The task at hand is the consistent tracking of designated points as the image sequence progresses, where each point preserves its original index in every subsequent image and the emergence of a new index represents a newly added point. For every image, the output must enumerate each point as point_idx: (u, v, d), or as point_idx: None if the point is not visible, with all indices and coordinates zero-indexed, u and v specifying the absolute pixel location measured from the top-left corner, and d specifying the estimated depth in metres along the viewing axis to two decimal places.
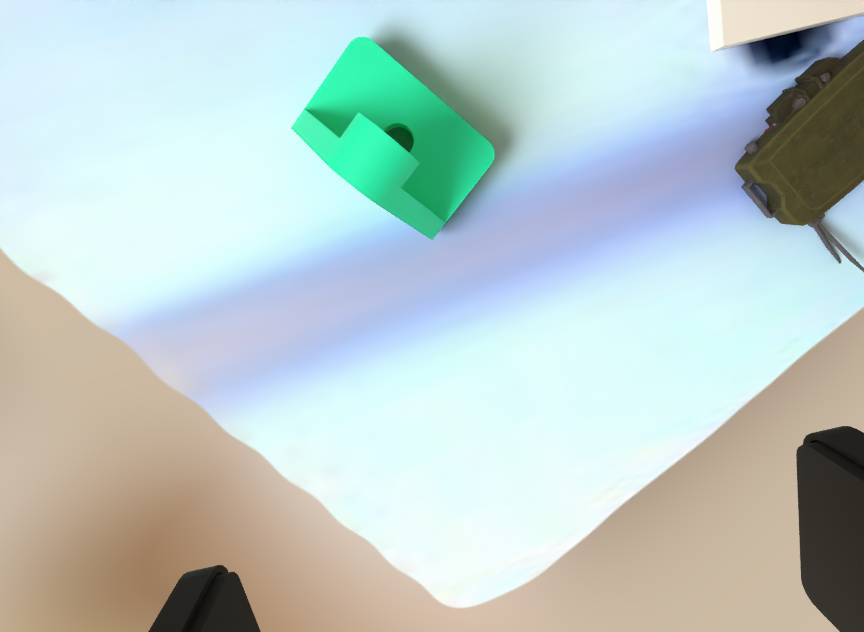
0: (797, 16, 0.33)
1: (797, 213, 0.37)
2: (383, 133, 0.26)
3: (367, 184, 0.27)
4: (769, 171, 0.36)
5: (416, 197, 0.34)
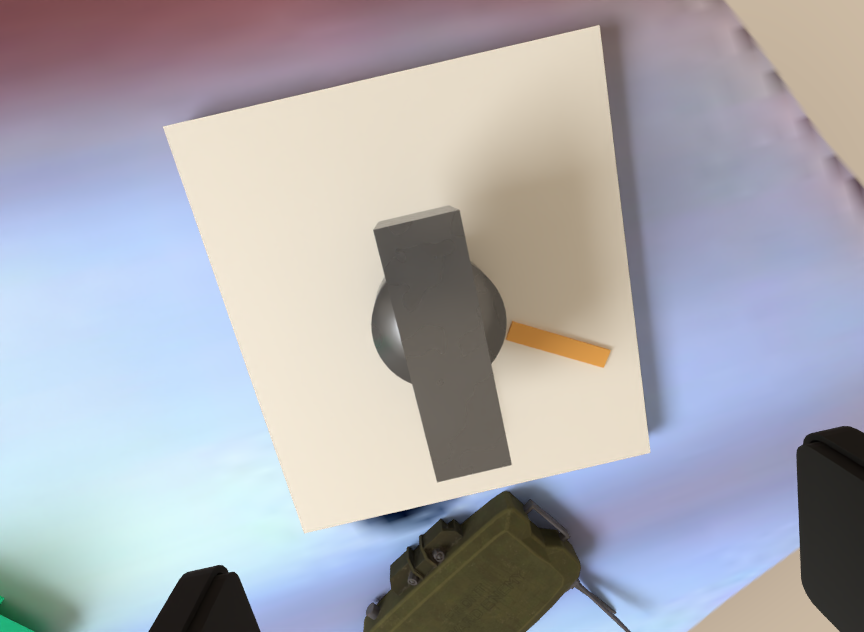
0: (390, 501, 0.28)
1: None
2: None
3: None
4: None
5: None
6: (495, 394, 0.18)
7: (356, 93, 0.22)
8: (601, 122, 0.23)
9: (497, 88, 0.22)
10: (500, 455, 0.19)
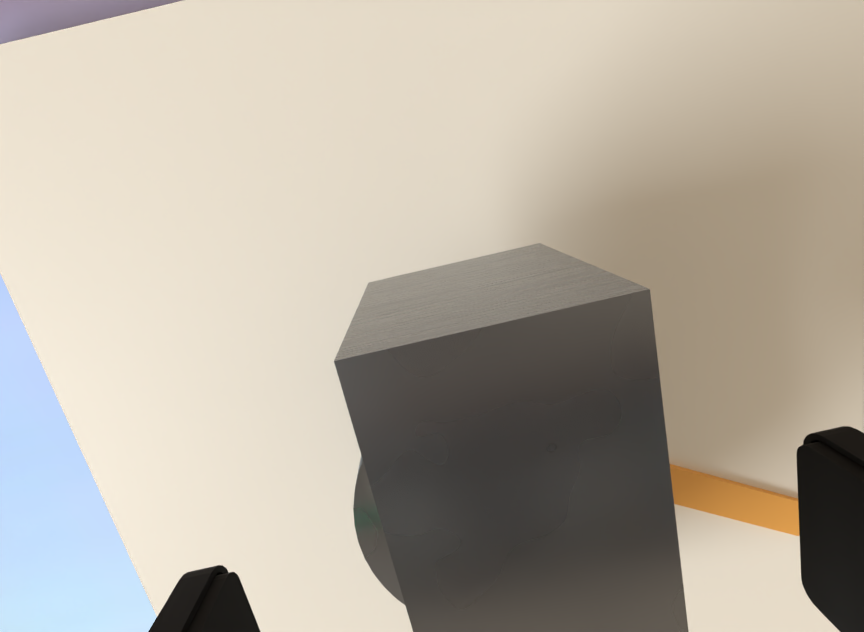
0: None
1: None
2: None
3: None
4: None
5: None
6: None
7: None
8: (844, 60, 0.11)
9: None
10: None
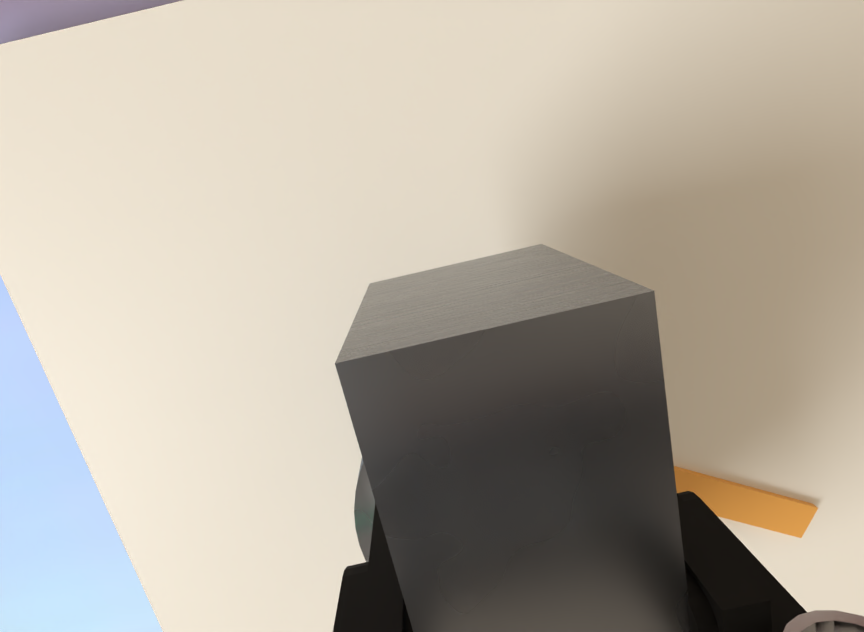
0: None
1: None
2: None
3: None
4: None
5: None
6: None
7: None
8: (847, 60, 0.11)
9: None
10: None
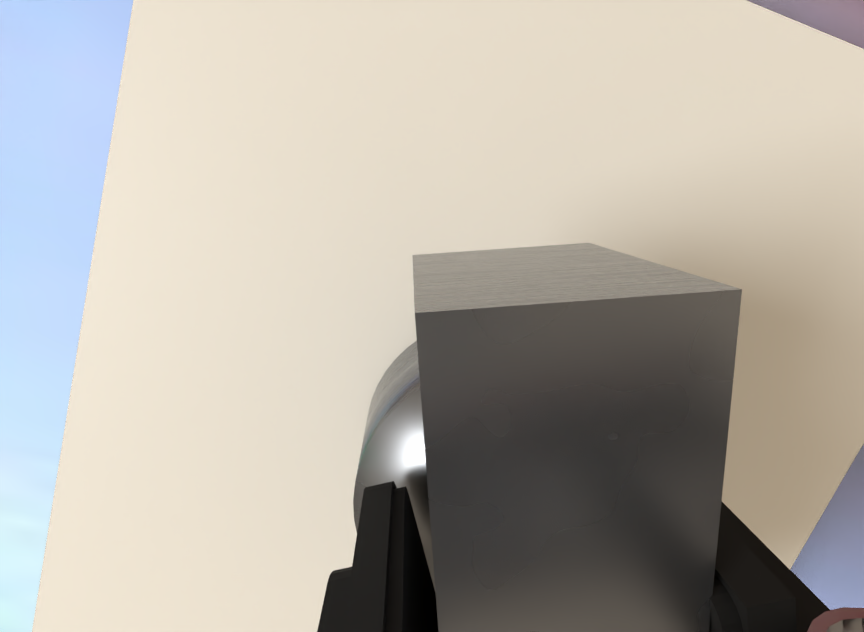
0: None
1: None
2: None
3: None
4: None
5: None
6: None
7: None
8: None
9: (829, 124, 0.11)
10: None
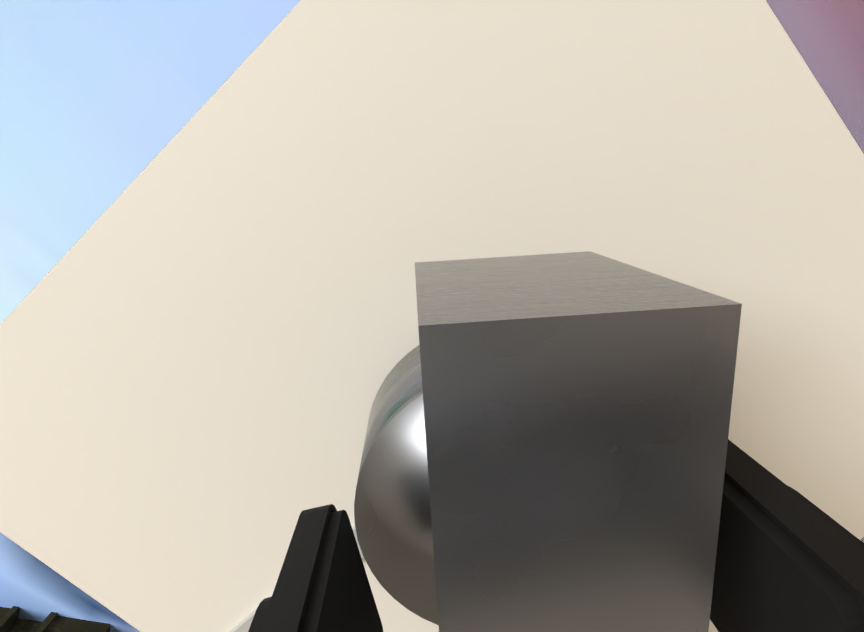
0: (76, 557, 0.13)
1: None
2: None
3: None
4: None
5: None
6: None
7: (800, 98, 0.11)
8: None
9: None
10: None
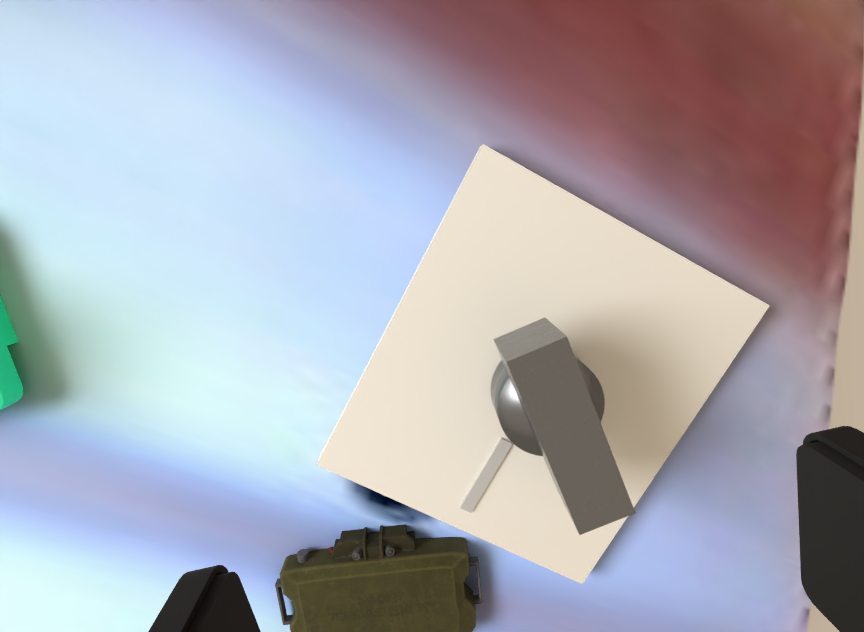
0: (393, 488, 0.32)
1: None
2: None
3: None
4: (292, 591, 0.33)
5: None
6: (614, 462, 0.24)
7: (610, 225, 0.29)
8: (725, 359, 0.31)
9: (688, 291, 0.30)
10: (625, 507, 0.25)
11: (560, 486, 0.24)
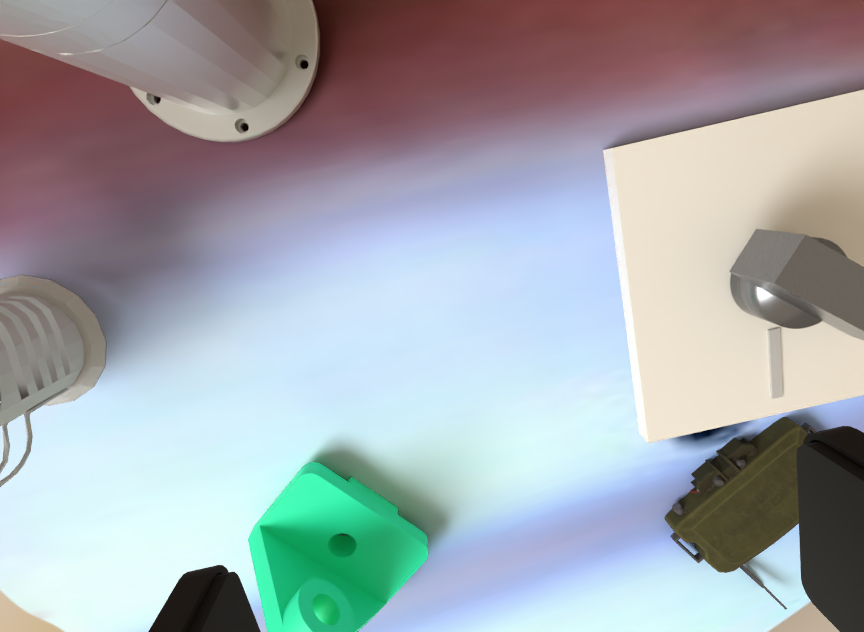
0: (713, 419, 0.38)
1: (719, 565, 0.41)
2: None
3: None
4: (692, 536, 0.40)
5: (359, 585, 0.39)
6: None
7: (743, 125, 0.32)
8: None
9: (838, 121, 0.33)
10: None
11: None
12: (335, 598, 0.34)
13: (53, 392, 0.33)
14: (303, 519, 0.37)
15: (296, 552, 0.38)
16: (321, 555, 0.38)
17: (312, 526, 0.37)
